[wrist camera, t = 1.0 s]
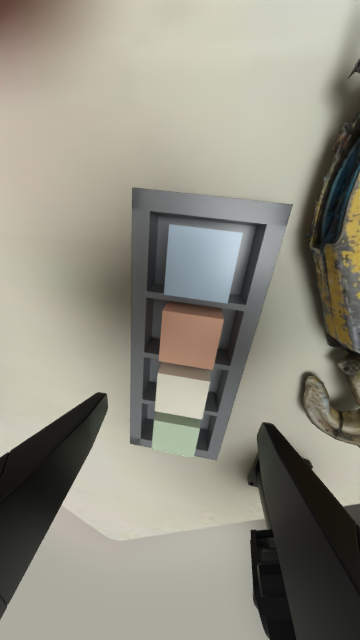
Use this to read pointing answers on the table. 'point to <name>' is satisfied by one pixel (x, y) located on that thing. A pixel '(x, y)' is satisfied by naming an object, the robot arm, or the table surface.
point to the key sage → (175, 434)
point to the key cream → (182, 390)
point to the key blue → (201, 263)
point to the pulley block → (339, 280)
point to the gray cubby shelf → (239, 314)
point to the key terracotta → (190, 334)
